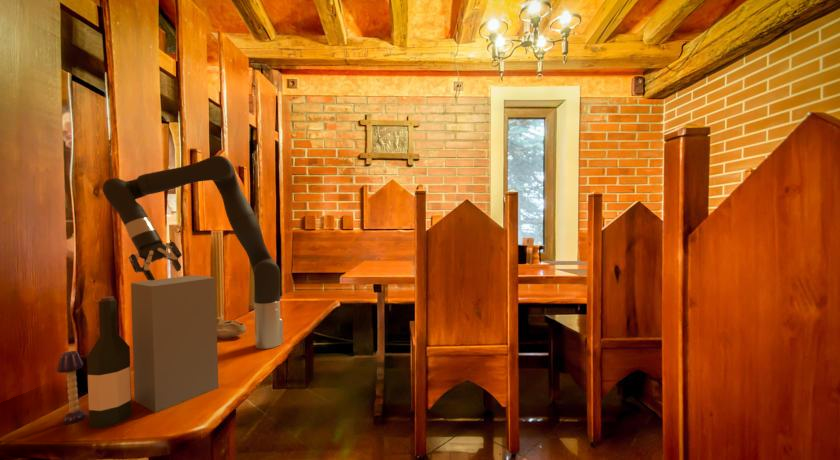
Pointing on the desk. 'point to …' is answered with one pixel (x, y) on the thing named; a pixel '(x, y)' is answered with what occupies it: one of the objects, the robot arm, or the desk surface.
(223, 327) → the oil lamp
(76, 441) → the desk surface
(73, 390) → the toy lamp
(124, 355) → the wine bottle
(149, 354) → the stand
